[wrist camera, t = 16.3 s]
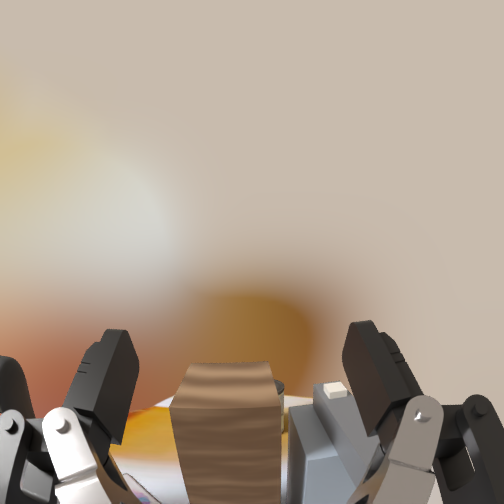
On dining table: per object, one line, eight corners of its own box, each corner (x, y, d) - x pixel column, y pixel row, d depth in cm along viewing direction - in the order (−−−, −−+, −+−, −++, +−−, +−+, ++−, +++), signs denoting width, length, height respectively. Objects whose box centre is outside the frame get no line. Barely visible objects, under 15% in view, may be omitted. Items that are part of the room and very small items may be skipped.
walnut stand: (278, 556, 24) (281, 405, 25) (207, 557, 23) (168, 407, 24) (270, 504, 37) (268, 361, 39) (212, 506, 37) (190, 363, 38)
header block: (365, 538, 24) (398, 439, 25) (297, 553, 24) (307, 460, 25) (343, 493, 38) (358, 396, 39) (286, 503, 38) (288, 406, 39)
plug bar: (403, 491, 16) (416, 455, 16) (365, 504, 16) (375, 469, 16) (338, 403, 38) (339, 374, 38) (312, 407, 38) (313, 378, 38)
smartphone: (138, 522, 29) (101, 481, 38) (139, 524, 29) (102, 484, 38) (167, 508, 35) (127, 472, 44) (168, 510, 35) (128, 474, 44)
